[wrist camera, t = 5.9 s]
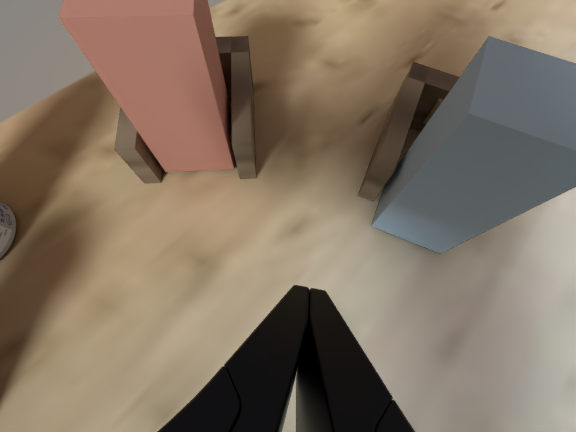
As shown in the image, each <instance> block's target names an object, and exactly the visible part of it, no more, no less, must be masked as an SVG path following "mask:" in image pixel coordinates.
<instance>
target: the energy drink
mask: <svg viewBox="0 0 576 432" xmlns="http://www.w3.org/2000/svg"><path fill="white" fill-rule="evenodd" d="M15 233H16V221H15V216H14V214H13V212H12V210H11V209H10V208H9V207H8V206H7V205H5V204H4V203H2V202H0V258H1V257H2V256H3V255H4V254H5V253H6V252H7V250H8V249H9V248H10V246H11V244H12V242H13V240H14V237H15Z"/></svg>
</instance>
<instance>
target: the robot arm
mask: <svg viewBox="0 0 576 432" xmlns="http://www.w3.org/2000/svg"><path fill="white" fill-rule="evenodd" d="M296 372H297V375H296ZM295 376H296V432H415V431H414V429H413V428H412V426H411V425H410V423H409V422H408V420H407V419H406V417H405V416H404V414H403V413H402V411H401V409H400V408H399V406H398V405H397V403H396V402H395V401H394V400H392V399H393V397H392V395H391V394H390V392H389V391H388V389H387V388H386V386H385V384H384V383H383V381H382V380H381V378H380V376H379V375H378V373H377V372H376V370H375V368H374V367H373V365H372V364H371V362H370V361H369V359H368V357H367V356H366V354H365V353H364V351H363V349H362V348H361V346H360V345H359V343H358V341H357V340H356V338H355V337H354V335H353V334H352V332H351V330H350V329H349V327H348V326H347V324H346V322H345V321H344V319H343V318H342V316H341V315H340V313H339V311H338V310H337V308H336V307H335V305H334V303H333V302H332V300H331V299H330V297H329V295H328V294H327V292H326V291H324V290H320V289H314V288H311V289H310V290H309V288H308V287H304V286H298V285H294V286H293V287H292V288H291V289H290V290H289V291H288V292H287V294H286V295H285V296H284V297H283V298H282V299H281V300H280V302H279V303H278V304H277V305H276V306H275V307H274V308H273V310H272V311H271V312H270V313H269V314H268V315H267V316H266V318H265V319H264V320H263V321H262V322H261V323H260V324H259V326H258V327H257V328H256V329H255V330H254V331H253V332H252V334H251V335H250V336H249V337H248V338H247V339H246V340H245V342H244V343H243V344H242V345H241V346H240V347H239V348H238V350H237V351H236V352H235V353H234V354H233V355H232V356H231V358H230V359H229V360H228V361H227V362H226V363H225V365H224V366H223V367H222V368H221V369H220V370H219V371H218V372H217V373H216V374H215V376H214V377H213V378H212V379H211V380H210V381H209V382H208V383H207V384H206V385H205V387H204V388H203V389H202V390H201V391H200V392H199V393H198V394H197V395H196V396H195V397H194V398H193V399H192V400H191V401H190V402H189V403H188V404H187V405H186V406H185V407H184V408H183V409H182V410H181V411H180V412H178V413H177V414H176V415H175V416H174V417H173V418H172V419H171V420H170V421H169V422H168V423H167V424H166V425H164V426H163V427H162V428H161V429H160V430H159V431H158V432H282V429H283V425H284V421H285V417H286V413H287V409H288V405H289V401H290V397H291V393H292V389H293V385H294V381H295Z"/></svg>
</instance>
